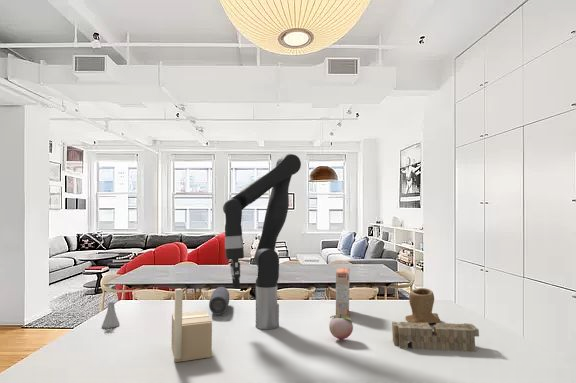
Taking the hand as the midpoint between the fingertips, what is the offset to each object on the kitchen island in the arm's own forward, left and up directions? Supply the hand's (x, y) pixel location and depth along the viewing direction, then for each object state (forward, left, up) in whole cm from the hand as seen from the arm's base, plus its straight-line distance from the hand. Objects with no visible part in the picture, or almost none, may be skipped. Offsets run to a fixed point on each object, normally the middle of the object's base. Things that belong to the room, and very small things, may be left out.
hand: (236, 287), depth 160 cm
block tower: (-64, +42, -19) cm, 79 cm away
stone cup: (-80, +18, -19) cm, 84 cm away
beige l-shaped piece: (+20, +24, -18) cm, 36 cm away
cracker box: (-54, -8, -19) cm, 58 cm away
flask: (+48, -28, -19) cm, 59 cm away
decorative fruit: (-35, +24, -19) cm, 46 cm away
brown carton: (+20, +15, -18) cm, 31 cm away
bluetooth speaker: (-1, -36, -19) cm, 40 cm away
